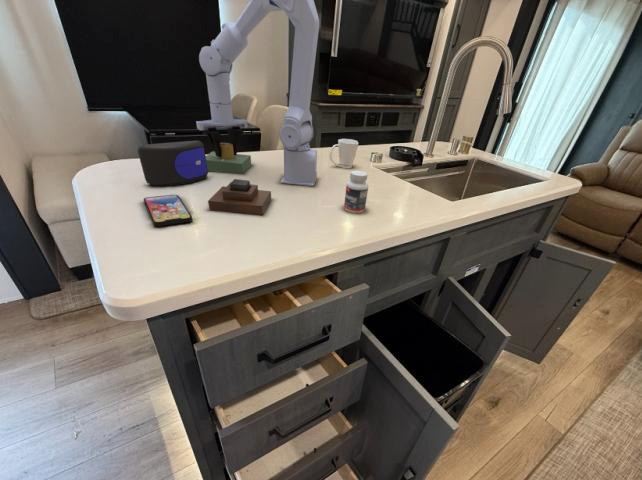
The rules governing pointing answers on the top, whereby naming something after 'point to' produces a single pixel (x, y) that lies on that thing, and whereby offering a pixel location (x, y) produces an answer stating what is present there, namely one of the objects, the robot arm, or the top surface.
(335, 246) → the top surface
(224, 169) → the green flat block
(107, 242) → the top surface
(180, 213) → the smartphone
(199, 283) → the top surface
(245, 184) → the switch button
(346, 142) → the cup
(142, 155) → the leaning round-cornered charcoal block
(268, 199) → the switch plate
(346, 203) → the pill bottle
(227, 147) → the dimmer knob
